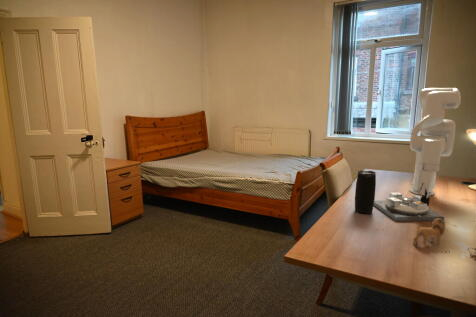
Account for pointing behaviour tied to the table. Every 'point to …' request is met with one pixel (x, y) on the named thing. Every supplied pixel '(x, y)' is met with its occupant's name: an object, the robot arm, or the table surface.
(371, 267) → the table surface
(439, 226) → the lion figurine
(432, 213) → the grey square base plate
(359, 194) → the portable speaker
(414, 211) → the silver hub plate
